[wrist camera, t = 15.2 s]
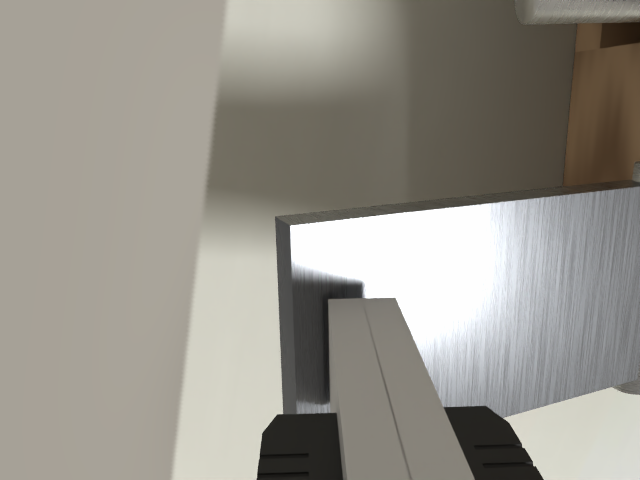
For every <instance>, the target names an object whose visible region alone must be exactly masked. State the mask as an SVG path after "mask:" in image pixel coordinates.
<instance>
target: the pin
mask: <svg viewBox="0 0 640 480" xmlns="http://www.w3.org/2000/svg"><path fill="white" fill-rule="evenodd" d="M514 4H515V11H516V15H517V18H518V20H519V22H520V23H522V24H572V23H626V22H640V0H514Z"/></svg>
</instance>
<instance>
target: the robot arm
mask: <svg viewBox="0 0 640 480" xmlns="http://www.w3.org/2000/svg"><path fill="white" fill-rule="evenodd" d="M328 319H329V375H330V413H311V414H279V415H277V416H276V417H275V418H274V419H273V421H272V422H271V423H270V424H269V426H268V427H267V428H266V429H265V431H264V432H263V433H262V441H261V449H260V459H259V465H258V473H257V480H544V479H543V478H542V476H541V474H540V473H539V471H538V469H537V468H536V466H533V461H532V460H531V458H530V456H529V455H528V453H527V452H526V450H525V448H522V443H521V442H520V440H519V438H518V437H517V435H516V434H515V432H514V430H513V429H512V427H511V425H510V424H509V423H508V422H507V421H506V420H504V419H503V418H502V417H500V416H499V415H498V414H496V413H495V412H494V411H492V410H491V409H490V408H488V407H487V406H463V407H443V405H442V403H441V401H440V398H439V396H438V394H437V391H436V389H435V387H434V385H433V382H432V380H431V378H430V375H429V373H428V371H427V368H426V366H425V364H424V362H423V359H422V357H421V355H420V352H419V350H418V348H417V345H416V343H415V341H414V339H413V336H412V334H411V332H410V329H409V327H408V325H407V323H406V320H405V318H404V316H403V313H402V311H401V309H400V306H399V304H398V302H397V300H396V297H390V298H354V299H328Z"/></svg>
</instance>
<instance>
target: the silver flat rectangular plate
mask: <svg viewBox="0 0 640 480" xmlns="http://www.w3.org/2000/svg"><path fill="white" fill-rule="evenodd" d="M275 223H276V247H277V272H278V296H279V321H280V345H281V369H282V394H283V414H311V413H330V375H329V319H328V299H354V298H390V297H396V300H397V302H398V304H399V306H400V309H401V311H402V313H403V316H404V318H405V320H406V323H407V325H408V327H409V329H410V332H411V334H412V336H413V339H414V341H415V343H416V345H417V348H418V350H419V352H420V355H421V357H422V359H423V362H424V364H425V366H426V368H427V371H428V373H429V375H430V378H431V380H432V382H433V385H434V387H435V389H436V391H437V394H438V396H439V398H440V401H441V403H442V405H443V407H463V406H487V407H488V408H490V409H491V410H492V411H494V412H495V413H496V414H498V415H499V416H500V417H502V418H504V417H508V416H511V415H515V414H518V413H522V412H525V411H529V410H532V409H536V408H539V407H543V406H546V405H550V404H553V403H557V402H560V401H564V400H567V399H571V398H574V397H578V396H581V395H585V394H589V393H592V392H596V391H599V390H603V389H606V388H610V387H613V388H614V389H616V390H619V391H621V392H624V393H629V394H636V395H640V161H636V162H634V168H633V176H632V179H630V180H620V181H611V182H601V183H591V184H582V185H572V186H563V187H553V188H544V189H534V190H524V191H515V192H505V193H496V194H486V195H477V196H467V197H457V198H448V199H438V200H429V201H419V202H410V203H400V204H390V205H381V206H371V207H362V208H352V209H343V210H333V211H323V212H314V213H304V214H295V215H285V216H276V217H275Z"/></svg>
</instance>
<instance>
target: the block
mask: <svg viewBox="0 0 640 480" xmlns="http://www.w3.org/2000/svg"><path fill="white" fill-rule="evenodd" d="M636 161H640V22H626V23H577V34H576V45H575V56H574V67H573V78H572V89H571V100H570V111H569V122H568V133H567V144H566V155H565V166H564V177H563V186H572V185H582V184H591V183H601V182H611V181H620V180H630V179H632V176H633V168H634V162H636Z"/></svg>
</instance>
